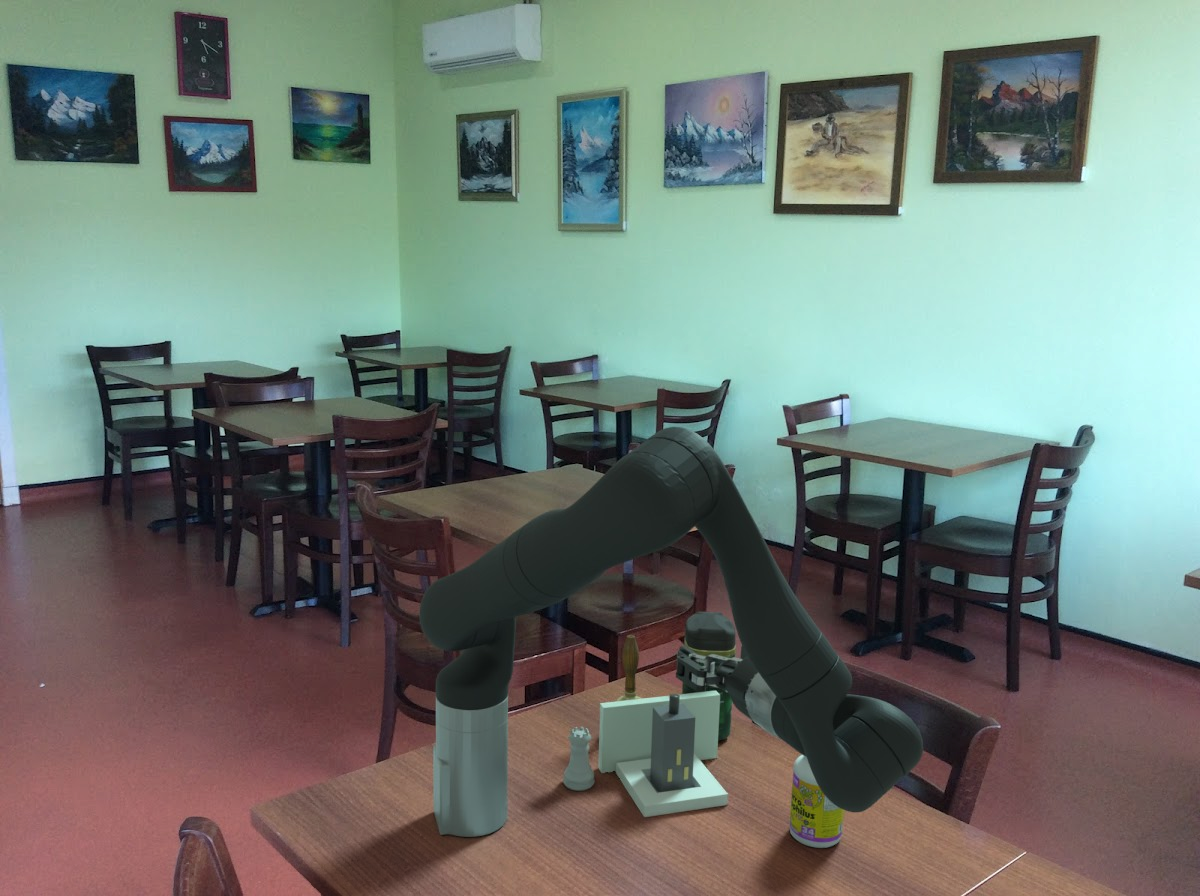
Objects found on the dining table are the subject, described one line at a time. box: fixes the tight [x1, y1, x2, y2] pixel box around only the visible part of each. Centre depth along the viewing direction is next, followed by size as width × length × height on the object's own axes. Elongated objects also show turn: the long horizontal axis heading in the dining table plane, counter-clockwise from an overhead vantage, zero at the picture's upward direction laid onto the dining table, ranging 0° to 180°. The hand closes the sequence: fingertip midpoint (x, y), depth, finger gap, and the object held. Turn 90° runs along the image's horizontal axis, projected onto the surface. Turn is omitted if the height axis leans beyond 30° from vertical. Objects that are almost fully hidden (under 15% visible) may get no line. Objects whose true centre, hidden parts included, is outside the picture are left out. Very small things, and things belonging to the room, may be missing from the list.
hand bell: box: [616, 634, 643, 701], centre depth 154 cm, size 8×8×16 cm
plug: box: [650, 693, 695, 792], centre depth 138 cm, size 4×5×13 cm
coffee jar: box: [681, 611, 737, 741], centre depth 155 cm, size 10×8×19 cm
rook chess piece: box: [562, 726, 596, 792], centre depth 139 cm, size 4×4×8 cm
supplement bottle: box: [789, 754, 845, 849], centre depth 127 cm, size 7×7×13 cm
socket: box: [597, 691, 729, 818], centre depth 139 cm, size 18×14×10 cm
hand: (712, 653), depth 124 cm, fingers open, 8 cm apart
